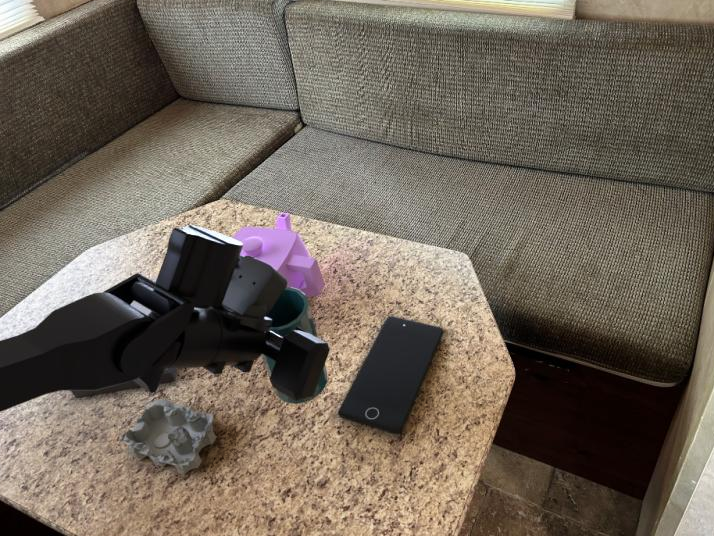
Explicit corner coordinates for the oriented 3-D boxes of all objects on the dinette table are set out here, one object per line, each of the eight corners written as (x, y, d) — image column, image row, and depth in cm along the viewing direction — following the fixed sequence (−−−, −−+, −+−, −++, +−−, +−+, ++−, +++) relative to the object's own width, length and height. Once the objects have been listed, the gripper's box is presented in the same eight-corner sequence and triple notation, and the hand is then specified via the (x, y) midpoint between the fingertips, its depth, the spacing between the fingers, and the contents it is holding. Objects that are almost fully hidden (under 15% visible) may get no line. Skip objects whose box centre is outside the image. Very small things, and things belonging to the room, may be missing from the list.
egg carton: (123, 456, 78) (110, 439, 75) (161, 409, 83) (150, 390, 80) (190, 482, 74) (179, 464, 72) (225, 430, 79) (216, 412, 77)
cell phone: (337, 417, 79) (336, 413, 79) (388, 319, 92) (388, 315, 91) (400, 436, 76) (400, 431, 76) (444, 332, 89) (444, 327, 88)
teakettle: (237, 359, 89) (213, 299, 81) (203, 292, 100) (180, 234, 92) (340, 309, 95) (328, 249, 87) (297, 251, 106) (282, 194, 98)
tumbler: (278, 411, 73) (252, 338, 64) (269, 369, 78) (244, 297, 70) (333, 393, 74) (314, 319, 66) (321, 353, 79) (301, 280, 71)
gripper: (298, 293, 54) (383, 303, 68) (167, 230, 63) (265, 249, 77) (256, 409, 54) (349, 396, 68) (131, 330, 64) (235, 332, 77)
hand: (297, 338), depth 73 cm, fingers closed on tumbler, 7 cm apart
